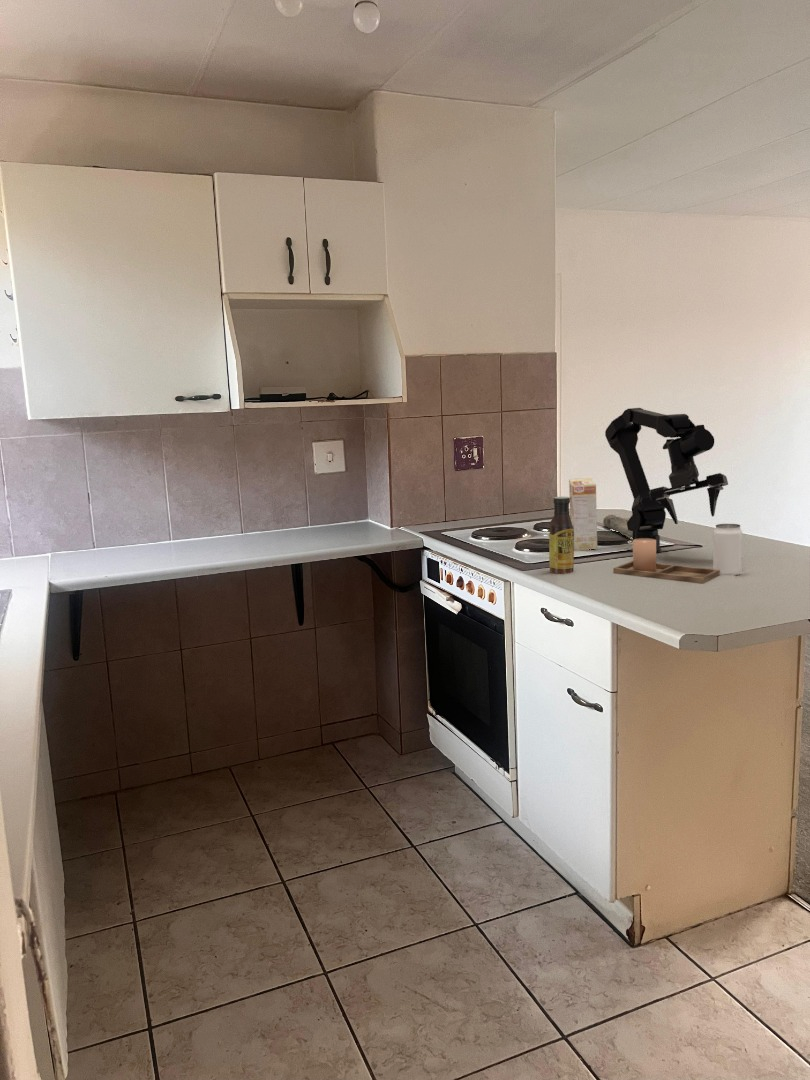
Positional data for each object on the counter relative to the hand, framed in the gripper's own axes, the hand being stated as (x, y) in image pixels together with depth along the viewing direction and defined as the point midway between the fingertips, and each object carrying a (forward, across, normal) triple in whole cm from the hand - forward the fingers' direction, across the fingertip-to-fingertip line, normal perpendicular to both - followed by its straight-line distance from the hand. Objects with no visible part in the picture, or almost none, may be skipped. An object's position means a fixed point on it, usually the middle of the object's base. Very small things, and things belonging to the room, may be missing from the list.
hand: (694, 520), depth 208 cm
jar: (+11, -12, -11) cm, 20 cm away
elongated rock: (-4, -30, +42) cm, 51 cm away
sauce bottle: (+8, -32, -16) cm, 36 cm away
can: (+15, +6, -4) cm, 17 cm away
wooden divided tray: (+13, -7, -12) cm, 19 cm away
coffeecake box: (-1, -37, +19) cm, 42 cm away
